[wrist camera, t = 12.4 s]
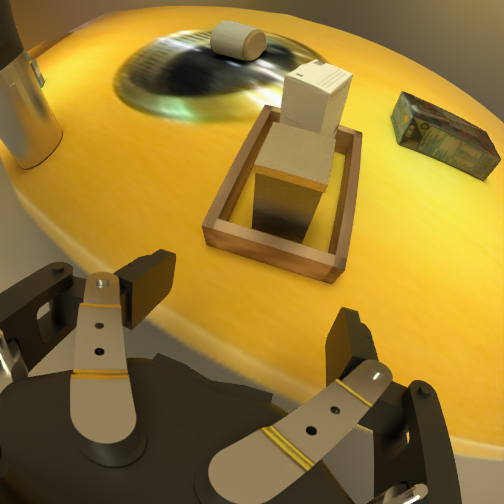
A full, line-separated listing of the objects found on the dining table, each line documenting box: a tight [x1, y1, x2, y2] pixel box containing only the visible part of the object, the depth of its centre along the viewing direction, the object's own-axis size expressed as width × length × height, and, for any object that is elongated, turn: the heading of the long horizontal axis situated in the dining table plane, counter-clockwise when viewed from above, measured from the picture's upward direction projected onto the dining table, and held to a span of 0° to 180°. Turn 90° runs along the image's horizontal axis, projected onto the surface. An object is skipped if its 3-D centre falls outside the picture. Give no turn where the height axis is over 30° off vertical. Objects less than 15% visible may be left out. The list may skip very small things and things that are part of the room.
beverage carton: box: [391, 91, 501, 181], centre depth 31 cm, size 8×19×7 cm, turn 79°
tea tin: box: [252, 122, 336, 244], centre depth 22 cm, size 5×5×10 cm
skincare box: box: [279, 60, 353, 139], centre depth 24 cm, size 6×4×12 cm
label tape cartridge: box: [26, 52, 45, 88], centre depth 36 cm, size 9×4×12 cm, turn 113°
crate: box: [202, 105, 362, 284], centre depth 27 cm, size 12×18×4 cm, turn 162°
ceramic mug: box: [210, 20, 267, 61], centre depth 39 cm, size 11×8×8 cm
